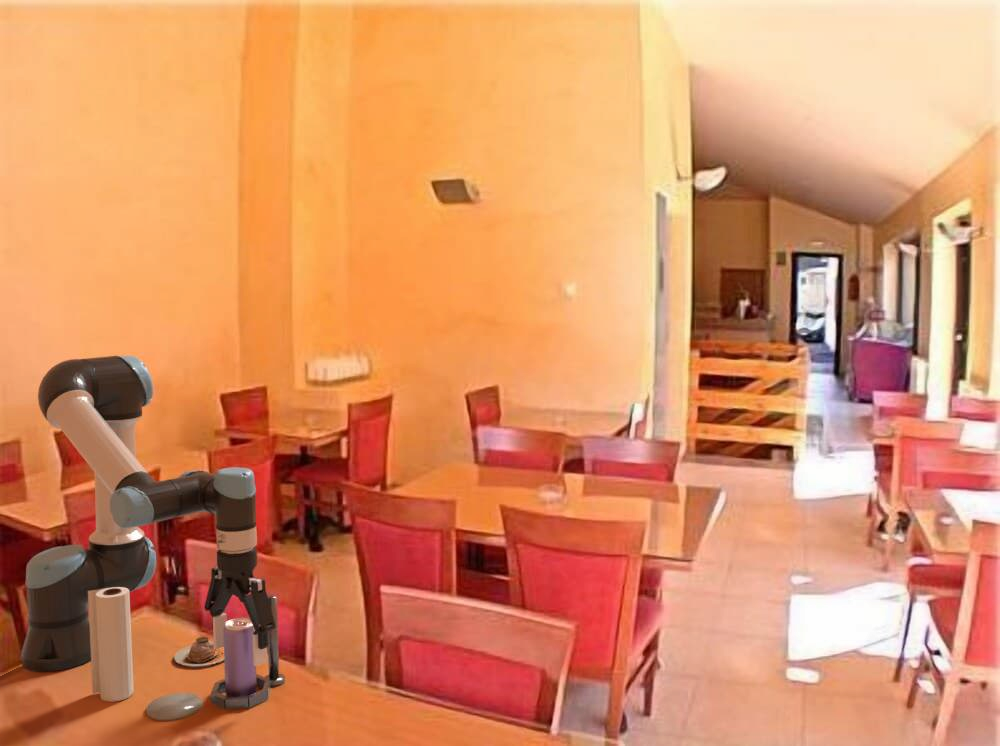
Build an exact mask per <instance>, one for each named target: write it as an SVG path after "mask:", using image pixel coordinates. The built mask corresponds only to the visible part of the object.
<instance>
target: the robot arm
mask: <svg viewBox="0 0 1000 746" xmlns="http://www.w3.org/2000/svg"><path fill="white" fill-rule="evenodd" d="M151 376H152V375H151V374H150V371H149V369H148V368H147V367H146V365H145V363H144V362H143V361H142V360H141V359H140V358H139V357H135V356H133V355H132V356H131V355H109V356H100V357H99V356H98V357H88V358H80V359H78V358H75V359H74V358H73V359H67V360H64V361H61V362H59V363H57V364H55V365H54V366H52V367H51V368H50V369H49V370H48V371H47V372H46V374H45V375H44V376H43V377H42V379H41V381H40V384H39V386H38V393H37V400H38V406H39V409H40V412H41V414H42V416H43V417H44V418H45V420H46V421H47V422H48V424H49V425H50V426H52V427H53V428H55V429H59V430H61V432H62V433H63V434H64V435H65V437H66V438H67V439H68V440H69V441H70V443H71V444H72V446H73V447H74V448H75V449H76V451H77V452H78V453H79V455H81V457H82V458H83V459H84V460H85V462H86V463H87V465H88V466H89V468H90V469H91V470H92V471H93V473H94V495H95V496H94V497H95V498H94V503H95V504H94V505H95V506H94V507H95V530H94V531H93V532H92V533H91V534H90V535H89V537H88V548H84V547H83V545H78V544H67V545H64V546H62V545H60V546H55V547H51V548H48V549H46V550H43V551H41V552H39V553H37V554H36V555H34V556H32V557H31V559H30V560H29V561H28V562H27V564H26V568H25V569H26V570H25V572H26V573H25V581H24V582H25V583H24V584H25V585H26V601H27V614H28V616H27V617H28V629H27V632H26V636H25V639H24V643H23V647H22V650H21V655H20V659H21V666H22V667H23V668H24V669H26V670H29V671H32V672H55V671H64V670H68V669H72V668H75V667H78V666H81V665H84V664H87V663H88V662H90V661H91V645H90V625H89V604H88V591H93V590H99V589H104V588H112V587H124V588H128V589H129V593H131V592H133V591H135V590H137V589H141V588H143V587H145V586H146V585H148V583H149V582H151V580H152V579H153V577H154V574H155V571H156V569H157V568H156V567H157V555H156V550H154V544H153V542H152V541H151V540H150V539H149V537H146V536H145V532H144V530H142V529H141V528H140V527H145V526H148V525H150V524H155V523H158V522H159V523H160V522H163V521H167V520H171V519H176V518H181V517H185V516H190V515H192V514H193V515H195V514H198V513H203V512H204V513H208V514H212V515H215V529H216V548H217V549H218V550H217V551H216V563H217V564H216V567H213V568H211V569H210V571H211V574H210V575H211V576H210V577H211V578H210V583H209V587H208V591H207V594H206V595H207V596H206V599H205V603H204V611H206V612H207V611H208V612H209V613H210V614H209V615H210V616H211V621H212V624H211V625H212V626H211V627H212V633H213V635H212V636H213V643H214V649H219V648H221V647H224V631H223V630H224V627H225V626H224V624H225V623H226V622H227V621H228V618H227V616H228V614H227V613H226V611H227V609H226V608H227V607H228V604H229V603H230V600H231V599H232V596H235V597H237V598H238V599H239V601H240V603H243V605H244V607H245V610H246V613H247V615H248V618H249V619H250V620H251V622H252V624H253V626H254V629H255V632H253V665H254V666H256V667H257V666H260V665H263V664H265V663H268V631H270V630H273V629H275V627H276V626H275V622H274V618H273V615H272V611H271V608H270V604H269V601H268V597H267V594H268V593H267V590H266V580H265V579H264V578H263V577H261V578H255V576H254V570H255V568H256V567H257V566H258V548H257V547H256V546H257V545H258V536H257V535H258V534H257V508H256V506H257V503H256V501H257V500H256V499H257V498H256V497H257V495H256V493H257V489H256V484H255V482H256V481H255V474H254V472H253V470H252V469H250V468H248V467H238V466H236V467H235V466H233V467H225V468H221V469H218V470H217V471H216V472H215V473H211V472H208V471H204V470H193V469H192V470H187V471H185V472H184V473H182V474H181V475H179V476H178V477H175V478H170V479H165V480H160V481H156V480H155V479H154V478H153V476H151V475H150V474H149V472H148V471H147V470H146V469H145V468H144V466H143V465H142V464H141V463H140V461H139V460H138V459H137V456H136V455H137V453H136V452H137V450H136V449H137V446H136V445H137V443H136V424H137V422H138V421H139V420H140V419H142V417H143V408H144V407H147V405H149V404H150V403H151V402H152V399H153V396H154V385H153V379H152V377H151ZM249 593H250V594H249ZM268 623H269V624H268Z"/></svg>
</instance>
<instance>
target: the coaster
mask: <svg viewBox="0 0 1000 746" xmlns="http://www.w3.org/2000/svg"><path fill="white" fill-rule="evenodd" d="M202 704H203V703H202V698H201V697H200V696H198V695H196V694H194V693H189V692H188V693H187V692H178V693H169V694H166V695H163V696H160V697H157V698H156V699H154V700H152V701H151V702H150V703H148V704H147V706H146V709H145V711H146V712H145V713H146V715H147V716H148V718H150V719H151V720H155V721H177V720H180V719H184V718H188V717H189V716H191V715H194V714H195V713H197V712H198V711H199V710H200V709H201V707H202Z"/></svg>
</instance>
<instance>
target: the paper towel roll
mask: <svg viewBox="0 0 1000 746" xmlns="http://www.w3.org/2000/svg"><path fill="white" fill-rule="evenodd" d="M130 599H131V598H130V592H129V589H128V588H124V587H112V588H104V589H99V590H93V591H88V617H89V625H90V645H91V660H90V661H91V681H92V682H91V683H92V686H91V687H92V694H97V693H99V694H100V695H99V696H100V698H101V700H102V701H104V702H112V703H113V702H119V701H122V700H125V699H128V698H130V697H132V696H133V693H134V670H133V668H134V667H133V648H132V647H133V646H132V645H133V643H132V628H131V627H132V626H131V623H132V621H131V605H130V604H131V601H130Z"/></svg>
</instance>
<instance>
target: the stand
mask: <svg viewBox="0 0 1000 746" xmlns="http://www.w3.org/2000/svg"><path fill="white" fill-rule="evenodd" d="M267 597H268V601H269V604H270V608H271V611H272V615H273V618H274V622H275V626H276V627H275V629H273V630H270V631H268V647H267V661H268V674H266V675H265V676H262V675H260V674H257V673H256V676H257V689H260V690H257V692H256V693H253V694H251V695H249V696H240V697H226V695H224V694H222V693H224V692H225V678H223V679H221V680H218V681H217V682H214V684H213V687H212V689H211V692H210V702H211V704H213V705H214V706H217V707H219V708H220V709H223V710H240V709H241V710H243V709H244V710H245V709H246V710H247V709H251V708H253V707H255V706H257V705H258V706H259V704H262V703H265V702H266V701H268V700H269V697H270V693H271V687H272V688H273V687H274V688H275V687H278V686H281V685H282V686H283V684H285V682H286V675H285V674H282V673H280V662H279V632H278V631H279V629H278V628H279V622H278V618H279V617H278V595H276V594H270V593H267ZM268 624H269V623H268Z"/></svg>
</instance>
